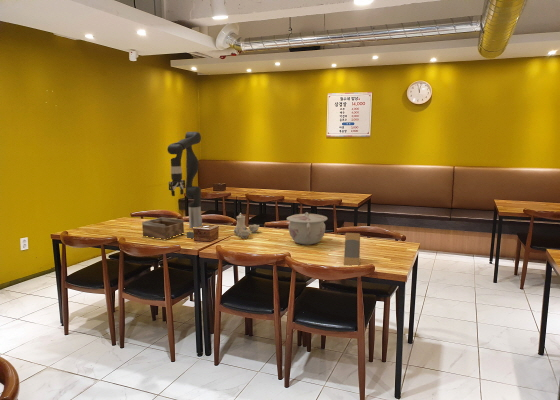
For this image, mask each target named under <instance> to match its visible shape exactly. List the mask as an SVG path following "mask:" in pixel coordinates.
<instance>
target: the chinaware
mask: <svg viewBox="0 0 560 400" xmlns="http://www.w3.org/2000/svg"><path fill="white" fill-rule="evenodd" d="M245 222H246V215H243V214H242V212H240V213H239V214H238V215H237V216H236V226H235V227H234V229H233V232H234V234H235V236H237V237H240V238H241V239H248V236H249V235H250V232H251V233H252V234H256V233H257V232H258V230H259V228H260V224H249V225H248V226H247V225H246V223H245Z"/></svg>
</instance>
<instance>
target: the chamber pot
mask: <svg viewBox="0 0 560 400" xmlns="http://www.w3.org/2000/svg"><path fill="white" fill-rule="evenodd" d="M286 220H287V221H289V224H288V232H289V235H290V237H291V239H292V240H293V242H294V243H297V244H298V245H303V246H305V245H306V246H312V245H315V244H318V243H320V242H321V241H322V240H323V238H324V237H325V233H326V224H325V222H326V221H327V220H328V217H327V216H325V215H322V214H318V213H317V214H316V213H309V212H308V211H306V212H305V213H299V214H298V213H296V214H293V215H290V216H288V217H286Z"/></svg>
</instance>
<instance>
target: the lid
mask: <svg viewBox="0 0 560 400" xmlns="http://www.w3.org/2000/svg"><path fill="white" fill-rule="evenodd" d="M193 232H194V231H187V232H186V236H187V238H191V239H193V238H194V233H193Z"/></svg>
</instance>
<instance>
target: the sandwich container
mask: <svg viewBox="0 0 560 400" xmlns="http://www.w3.org/2000/svg"><path fill="white" fill-rule="evenodd" d="M344 237H345V239H344V255H343V256H344V257H343V266H349V267H351V266H352V265H359V266H360V260H361V259H360V256H361V255H360V254H361V253H360V252H361V233H358V232H357V233H356V232H345V235H344ZM352 267H353V266H352Z"/></svg>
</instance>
